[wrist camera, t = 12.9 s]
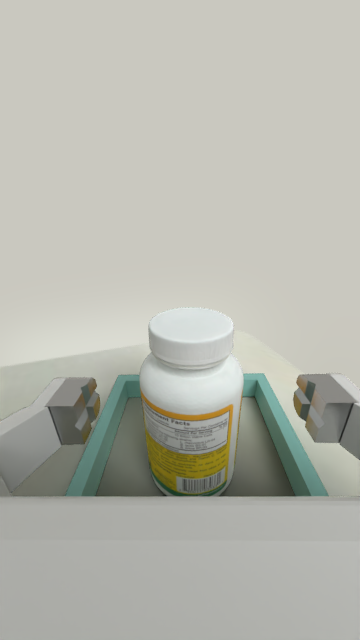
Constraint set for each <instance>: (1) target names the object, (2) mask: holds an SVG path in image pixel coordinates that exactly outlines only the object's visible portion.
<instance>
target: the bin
mask: <svg viewBox="0 0 360 640" xmlns="http://www.w3.org/2000/svg"><path fill="white" fill-rule="evenodd" d="M139 376H140V375H119V376H118V378H117V380H116V382H115V385H114V387H113V389H112V391H111V393H110V396H109V398H108V400H107V402H106V405H105V407H104V409H103V411H102V414H101V416H100V418H99V420H98V423H97V425H96V427H95V429H94V432H93V434H92V436H91V438H90V441H89V443H88V445H87V447H86V449H85V452H84V454H83V456H82V458H81V461H80V463H79V465H78V467H77V470H76V472H75V474H74V476H73V479H72V481H71V483H70V485H69V488H68V490H67V492H66V494H65V496H95V495H96V492H97V489H98V486H99V483H100V480H101V477H102V474H103V471H104V468H105V465H106V462H107V459H108V456H109V453H110V450H111V447H112V444H113V441H114V438H115V435H116V432H117V429H118V426H119V423H120V420H121V417H122V414H123V411H124V408H125V405H126V402H127V399H128V397H141V391H140V381H139ZM243 376H244V384H243V394H242V397H255V398H256V401H257V403H258V405H259V408H260V410H261V413H262V415H263V418H264V420H265V423H266V425H267V428H268V430H269V432H270V435H271V437H272V440H273V442H274V445H275V447H276V450H277V452H278V454H279V457H280V459H281V462H282V464H283V467H284V469H285V472H286V474H287V477H288V479H289V481H290V484H291V486H292V489H293V491H294V494H295V496H329V495H328V493H327V492H326V490H325V488H324V486H323V484H322V482H321V480H320V478H319V477H318V475H317V473H316V471H315V469H314V467H313V465H312V463H311V461H310V460H309V458H308V456H307V454H306V452H305V450H304V448H303V446H302V445H301V443H300V441H299V439H298V437H297V435H296V433H295V431H294V429H293V428H292V426H291V424H290V422H289V420H288V418H287V416H286V414H285V413H284V411H283V409H282V407H281V405H280V403H279V401H278V399H277V397H276V396H275V394H274V392H273V390H272V388H271V386H270V384H269V382H268V381H267V379H266V377H265V375H264V373H258V374H243Z"/></svg>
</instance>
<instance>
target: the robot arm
mask: <svg viewBox="0 0 360 640" xmlns="http://www.w3.org/2000/svg"><path fill="white" fill-rule="evenodd" d="M296 383H297V385H298V386H299V388H298V389H297V390H296V391H295V392H294V397H293V401H294V407H295V410H296V412H297V414H298V416H299V417H300V418H302V419H303V420H305V421H306V425H305V427H306V429H307V431H308V432H309V434H310V435H311V437H312V439H313V440H314V442H317V443H340V445H341V446H342V447H344V448H345V449H346V450H347V451H349V452H350V453H351V454H353V455H354V456H355V457H356V458H358V459H359V460H360V389H359V388H358V387H357V386H355V385H354V384H353V383H352V382H351V381H350V380H349V379H348V378H347V377H346V376H344V375H343V374H341V373H329V374H310V375H309V374H305V375H299V376H298V378H297V382H296ZM96 387H97V384H96V381H95V379H94V378H55V379H53V380H52V381H51V383H50V384H49V385H48V386H47V387H46V388H45V389H44V391H43V392H42V393H41V394H40V395H39V396H38V398H37V399H36V400H35V401H34V402H33V403H32V405H31V406H30V407H25V408H23V409H21V410H19V411H17V412H16V413H14V414H12V415H10V416H8V417H6V418H5V419H3V420H1V421H0V640H360V496H259V497H207V496H12V495H11V492H12V491H13V490H14V489H16V488H17V487H18V486H19V485H20V484H21V483H22V482H23V481H24V480H25V479H26V478H28V477H29V476H30V475H31V474H32V473H33V472H34V471H35V470H36V469H37V468H38V467H39V466H41V465H42V464H43V463H44V462H45V461H46V460H47V459H48V458H49V457H50V456H51V455H53V454H54V453H55V452H56V451H57V450H58V449H59V448H60V447H61V445H73V444H85V442H86V440H87V438H88V435H89V433H90V431H91V429H92V428H91V424H90V423H92V422H93V421H94V420H95V419H96V418H97V416H98V413H99V409H100V397H99V394H98V393H96V392H95V389H96Z"/></svg>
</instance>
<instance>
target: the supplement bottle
mask: <svg viewBox="0 0 360 640" xmlns="http://www.w3.org/2000/svg"><path fill="white" fill-rule="evenodd" d="M233 335H234V325H233V321H232V320H231V319H230V318H229V317H228V316H226V315H225V314H223V313H220V312H218V311H215V310H211V309H205V308H194V307H192V308H190V307H188V308H186V307H185V308H176V309H171V310H167V311H164V312H161V313H159V314H157V315H156V316H154V317H153V318H152V319H151V320H150V322H149V346H150V349H151V353H150V354H149V355H148V356H147V358H146V359H145V361H144V362H143V364H142V367H141V370H140V376H139V381H140V391H141V400H142V408H143V415H144V424H145V433H146V442H147V449H148V458H149V465H150V471H151V475H152V477H153V479H154V482H155V483H156V485H157V486H158V487H159V489H160V490H161V491H162V492H163V493H164V494H166V495H167V496H207V497H218V496H219V495H220V494H221V493H222V492H223V491H224V490H225V489H226V488H227V486H228V485H229V483H230V481H231V479H232V476H233V472H234V466H235V457H236V449H237V439H238V430H239V420H240V411H241V402H242V394H243V384H244V376H243V371H242V368H241V365H240V363H239V361H238V360H237V359H236V357H235V356H234V355H233V354H232V353H231V351H232V349H233Z"/></svg>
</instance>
